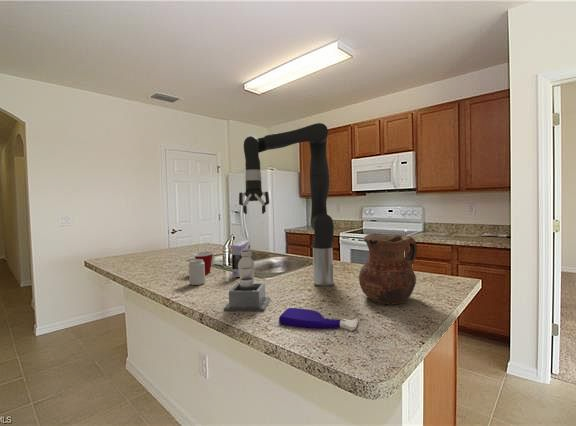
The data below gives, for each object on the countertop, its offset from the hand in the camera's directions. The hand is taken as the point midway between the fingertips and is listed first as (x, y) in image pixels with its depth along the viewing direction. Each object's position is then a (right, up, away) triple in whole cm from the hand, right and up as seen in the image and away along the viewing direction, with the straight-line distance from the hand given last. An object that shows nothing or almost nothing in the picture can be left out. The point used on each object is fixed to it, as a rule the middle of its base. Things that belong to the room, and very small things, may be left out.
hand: (254, 213), depth 145 cm
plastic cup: (-31, -34, +26) cm, 53 cm away
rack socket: (+1, -35, -28) cm, 45 cm away
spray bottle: (+26, -36, -47) cm, 64 cm away
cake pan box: (-10, -34, +23) cm, 42 cm away
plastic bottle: (0, -34, -28) cm, 44 cm away
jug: (+55, -34, -25) cm, 69 cm away
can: (-29, -35, +5) cm, 46 cm away
